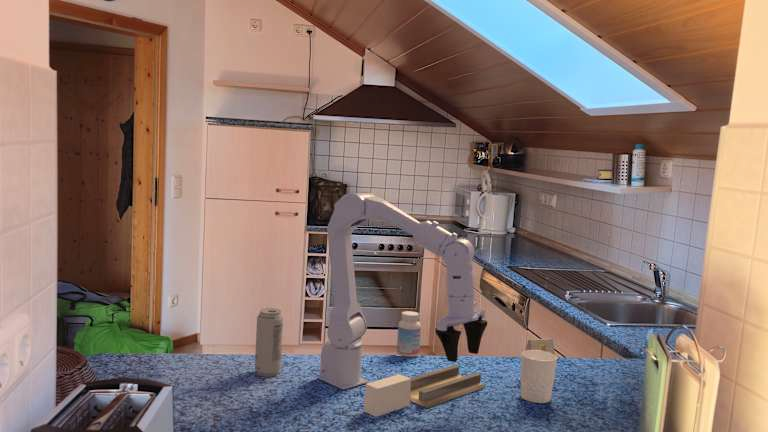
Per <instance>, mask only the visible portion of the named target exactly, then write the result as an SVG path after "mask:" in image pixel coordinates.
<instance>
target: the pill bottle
mask: <svg viewBox="0 0 768 432" xmlns="http://www.w3.org/2000/svg"><path fill="white" fill-rule="evenodd" d="M419 319H420V313H419V312H416V311H412V310H410V311H409V310H405V311H402V312H401V320H400V321H399V322H398V326H397V327H398V328H397V341H396V353H397V355H398V356H401V357H407V358H414V357H415V358H416V357H417V356H418V355H420V348H421V347H420V346H421V333H422V332H421V330H422V325H421V322H420V321H419Z"/></svg>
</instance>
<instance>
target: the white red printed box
mask: <svg viewBox="0 0 768 432" xmlns="http://www.w3.org/2000/svg"><path fill="white" fill-rule="evenodd" d="M526 350H540V351H545V352H549V353H552V354H554V355H556V353H555V346H554V339H553V338H540V339H539V338H538V339H535V338H534V339H528V340H527V343H526V346H525V349H524V351H526Z"/></svg>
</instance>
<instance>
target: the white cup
mask: <svg viewBox="0 0 768 432" xmlns="http://www.w3.org/2000/svg"><path fill="white" fill-rule="evenodd" d="M520 359H521V360H520V361H521V363H520V398H522V399H523V400H525V401H527V402H531V403H535V404H536V403H537V404H545V403H549V402H551V400H552V395H553V394H552V393H553V388H554V382H555V377H556V370H557V362H558V357H557V356H556V354H555V355H554V354H552V353H549V352H545V351H540V350H526V351H525V350H524V351H522V352H521V356H520Z"/></svg>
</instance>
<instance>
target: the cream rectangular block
mask: <svg viewBox="0 0 768 432" xmlns="http://www.w3.org/2000/svg"><path fill="white" fill-rule="evenodd" d="M410 378H411V377H410ZM410 378H409V377H408V376H405V375H403V374H395V375H391V376H388V377H385V378H382V379H379V380H375V381H371V382H368V383H365V388H364V390H365V391H364V392H365V393H364V406H363V407H364V409H363V411H364V413H367V414H369V415H371V416H373V417H376V418H377V417H379V416H383V415H385V414H388V413H391V412H395V411H397V410H400V409H403V408H406V407H409V406H410V403H411V401H410V388H411V379H410Z"/></svg>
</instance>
